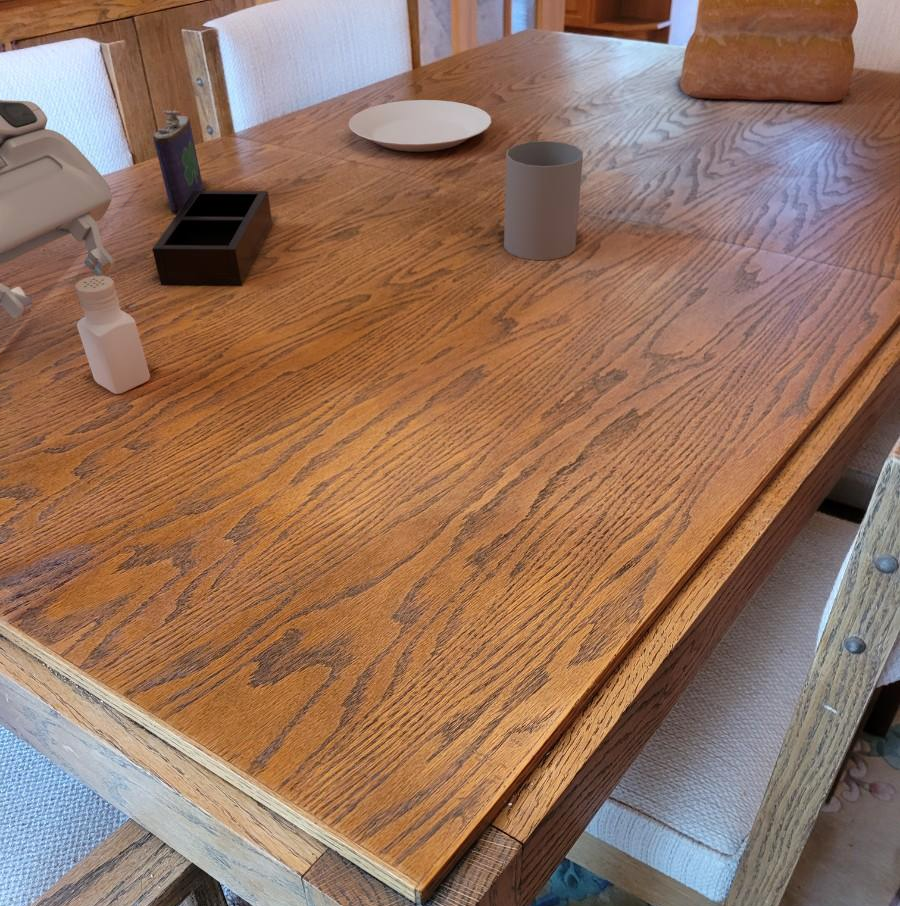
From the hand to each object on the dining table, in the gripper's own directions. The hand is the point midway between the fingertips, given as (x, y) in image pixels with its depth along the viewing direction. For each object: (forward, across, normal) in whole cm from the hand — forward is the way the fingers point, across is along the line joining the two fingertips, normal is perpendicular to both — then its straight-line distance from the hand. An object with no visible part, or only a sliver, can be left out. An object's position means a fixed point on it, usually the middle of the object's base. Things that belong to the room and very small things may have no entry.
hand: (67, 290), depth 78 cm
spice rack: (0, +28, +11) cm, 30 cm away
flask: (-10, +38, +21) cm, 45 cm away
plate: (0, +74, +12) cm, 75 cm away
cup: (+23, +46, -11) cm, 53 cm away
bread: (+27, +118, -16) cm, 122 cm away
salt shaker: (+8, +1, +4) cm, 9 cm away
